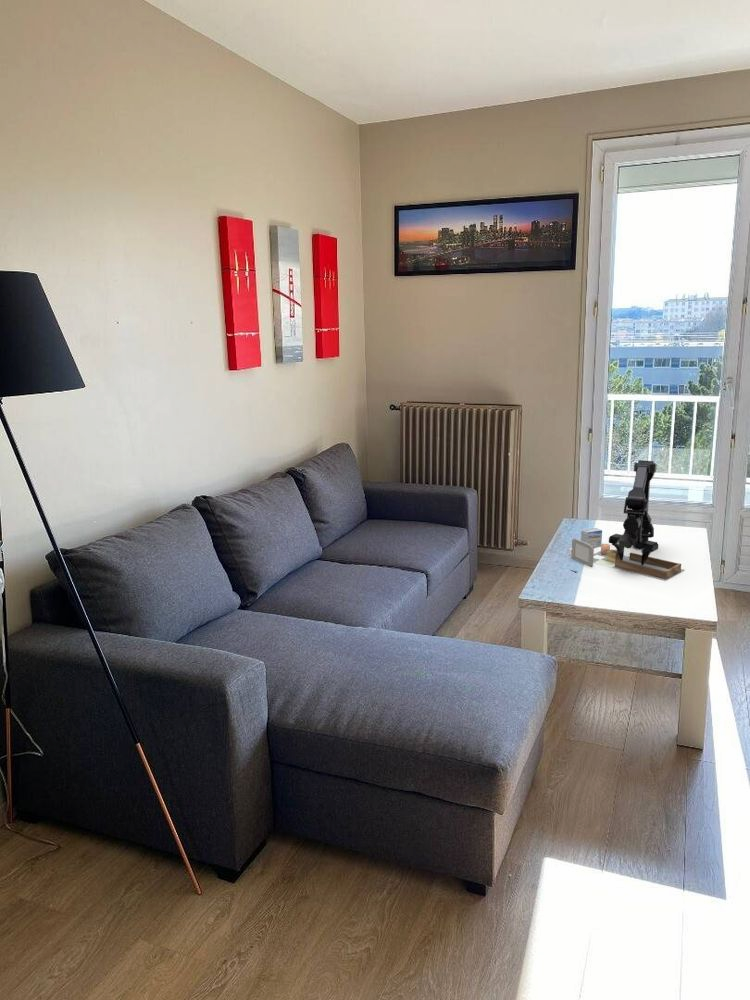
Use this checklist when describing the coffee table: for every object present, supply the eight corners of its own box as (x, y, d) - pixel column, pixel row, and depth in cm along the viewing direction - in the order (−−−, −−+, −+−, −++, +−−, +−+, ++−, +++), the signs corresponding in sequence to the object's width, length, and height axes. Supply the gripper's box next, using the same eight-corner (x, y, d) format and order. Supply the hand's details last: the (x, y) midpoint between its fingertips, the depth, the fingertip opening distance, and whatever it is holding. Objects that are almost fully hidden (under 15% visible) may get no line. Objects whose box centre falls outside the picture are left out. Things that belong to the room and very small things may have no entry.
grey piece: (555, 563, 312) (556, 540, 309) (573, 560, 315) (574, 537, 313) (575, 573, 300) (576, 549, 298) (593, 569, 303) (595, 546, 301)
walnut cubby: (630, 559, 311) (630, 552, 310) (680, 571, 296) (681, 564, 295) (614, 566, 302) (615, 559, 302) (665, 579, 287) (666, 572, 286)
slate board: (601, 553, 323) (602, 550, 323) (685, 572, 297) (685, 569, 297) (580, 562, 312) (580, 559, 311) (665, 584, 286) (665, 581, 286)
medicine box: (586, 551, 325) (587, 532, 323) (580, 548, 329) (581, 529, 327) (601, 549, 328) (602, 530, 326) (595, 546, 332) (596, 527, 330)
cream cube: (571, 555, 321) (572, 546, 320) (580, 556, 319) (581, 547, 318) (568, 558, 318) (569, 549, 317) (578, 559, 316) (578, 550, 315)
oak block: (611, 558, 312) (611, 549, 311) (620, 560, 309) (620, 551, 308) (606, 560, 310) (606, 551, 309) (615, 562, 307) (615, 553, 306)
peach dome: (603, 552, 320) (604, 543, 319) (611, 554, 318) (611, 544, 317) (599, 554, 318) (599, 545, 317) (606, 556, 315) (607, 546, 314)
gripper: (602, 525, 301) (600, 562, 305) (646, 534, 288) (644, 573, 292) (616, 519, 308) (614, 556, 312) (660, 528, 295) (657, 566, 299)
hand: (631, 562), depth 303 cm, fingers open, 9 cm apart
